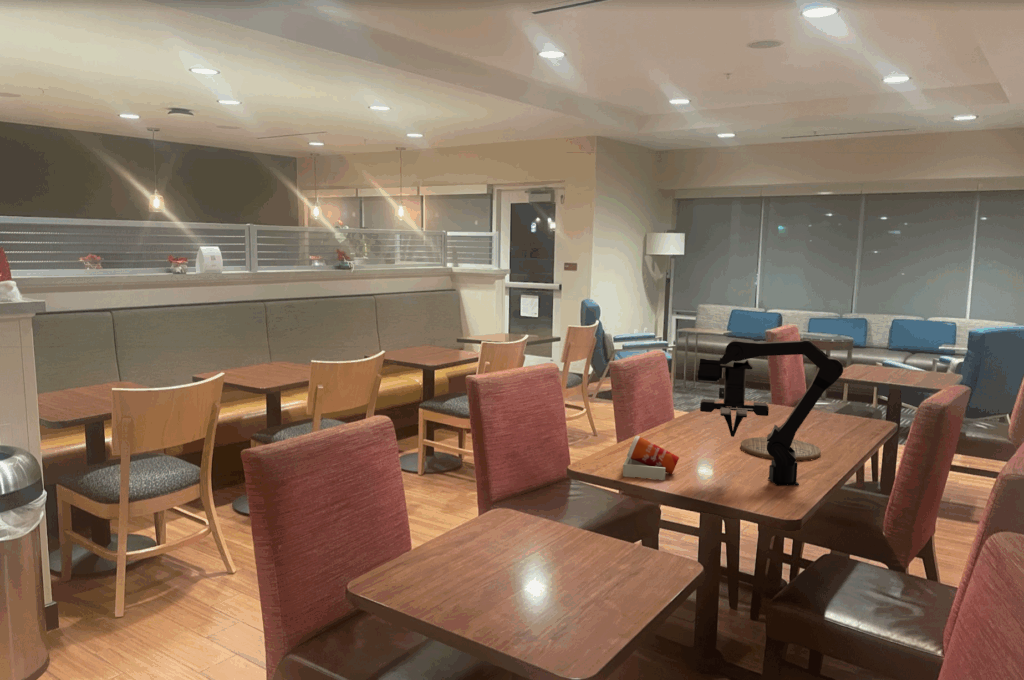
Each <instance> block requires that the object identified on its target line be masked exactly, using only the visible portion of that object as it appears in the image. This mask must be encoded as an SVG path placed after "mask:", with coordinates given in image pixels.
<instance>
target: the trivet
mask: <svg viewBox="0 0 1024 680" xmlns="http://www.w3.org/2000/svg"><path fill="white" fill-rule="evenodd" d="M790 447H791V448H792V449H793V450H794V451H795V452H796V462H803V461H802V460H808V461H812V460H811V459H814V460H817V459H818V457H819V458H820V457H821V451H822V450H821V448H820V447H819V446H817V445H815V444H814V443H813V444H812V443H810V442H807V441H803V440H798V439H793V441H792V444H791V446H790ZM740 449H742V450H741V451H742V452H744V451H745V452H744V453H746V452H747V453H746V454H748V453H749V454H748V455H751V456H754V457H757V456H758V458H761V457H763V458H762V459H766V458H769V459H768V460H773V459H774V458H773V457H772V456H771V455H770V454H769V453H768V451H767V436H756V437H749V438H745V439H743V440H741V442H740ZM816 458H817V459H816ZM800 460H801V461H800Z"/></svg>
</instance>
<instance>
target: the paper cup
mask: <svg viewBox="0 0 1024 680" xmlns="http://www.w3.org/2000/svg"><path fill="white" fill-rule="evenodd" d="M628 449H629V450H628V452H627V455H626V458H627V457H629V458H630V459H633V460H635V461H638V462H640V463H643V464H645V465H648V466H654V467H665V474H669V475H673V473H674V471H675V468H676V466H677V464H678V461H679V459H680V457H679V456H678V455H676V454H674V453H672V452H671V451H668V450H666V448H663V447H660V446H659V445H658V444H655V443H653V442H651V441H649V440H647V439H645V438H644V437H641V435H635V437H634V438H633V441H632V442H631V445H630V447H629V448H628Z"/></svg>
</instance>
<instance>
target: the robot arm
mask: <svg viewBox="0 0 1024 680" xmlns="http://www.w3.org/2000/svg"><path fill="white" fill-rule="evenodd" d="M792 355H793V356H794V355H795V356H796V355H797V356H798V355H799V356H800V355H804V356H805V357H806V358H807V359H808V360H809V361H810V362H811V363H813V365H815V366H816V367H817V369H816V371H815V373H814V376H813V379H812V382H811V383H810V384H809V386H808V388H807V389H806V391H805V392H804V393H803V395H802V397H800V399H799V401H798V402H797V404H796V405H795V407H794V408H793V410H792V411H791V412H790V414H789V415H788V417H787V418H786V420H785V421H784V422H783V423H782V424H781V425H780V426H778V425H776V424H774V426H773V427H772V430H771V431H770V433H768V434H767V436H766V437H767V451H768V453H769V454H770V455H771V456H772V457H773V458H774V460H773V459H770V460H771V461H770V464H769V468H768V471H769V472H768V477H767V479H768V481H770V482H772V483H773V484H775V486H779V487H780V486H781V487H783V486H799V485H800V482H798V481H797V480H798V478H797V476H798V475H797V474H798V461H796V452H795V451H794V450H793V449H792V448H791V447H790V446H791V444H792V441H793V439H794V438H795V436H796V433H797V432H798V430H799V428H800V427H801V426H802V424H803V423H804V421H805V419H806V418H807V417H808V415H809V414H810V412H811V411H812V409H813V408H814V407H815V405H816V404H817V402H819V399H820V398H821V397H822V395H823V394H824V392H826V390H828V389H829V388H830V387H831V386H832V385H834V384H835V383H836V381H837V380H839V378H841V376H842V375H843V373H844V368H843V367H844V366H843V364H842V362H841V361H840V360H839V358H837V357H835V356H829V355H828V354H827V353H826V352H824V351H823V350H821V348H819V347H818V346H817V345H816V344H814V343H813V341H812V340H809V339H802V340H785V341H781V340H780V341H761V342H759V341H752V340H747V339H746V340H745V339H739V338H738V339H733V340H731V341H729V343H727V345H726V347H725V353H724V354H723V355H721V356H720V358H718V359H717V358H716V359H714V358H706V357H701V358H699V365H698V369H697V380H698V382H707V383H719V381H720V380H723V378H724V387H719V389H718V399H719V400H723V402H715V399H708V398H707V399H706V398H703V399H701V400H700V404H699V405H700V406H699V407H700V408H699V411H700V412H701V413H702V412H703V413H712V412H714V411H715V410H719V411H720V412H719V414H720V416H721V417H724V419H725V422H726V424H727V427H728V431H729V434H730V436H731V437H733V438H734V437H735V435H736V433H737V430H738V429H739V426H740V425H741V422H742V420H743V419H744V418H748V412H751V413H752V412H753V413H754V414H755V415H756V416H760V417H768V416H769V404H767V403H766V402H757V401H756V402H755V401H754V402H753V404H752V405H751V404H745V398H746V377H747V376H746V375H747V370H752V369H753V368H754V365H753V364H752V363H750V361H749V360H750V359H754V358H757V357H769V356H774V357H775V356H792ZM741 361H744V362H741ZM731 362H733V364H729V363H731ZM724 369H725V370H724ZM732 411H735V415H734V417H735V418H734V423H733V421H732V420H733V419H732ZM794 440H795V439H794Z"/></svg>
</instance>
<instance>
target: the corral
mask: <svg viewBox="0 0 1024 680" xmlns="http://www.w3.org/2000/svg"><path fill="white" fill-rule="evenodd" d="M622 477H626V478H635V477H641V478H640V479H646V478H651V479H650V480H656V479H659V481H666V472H665V467H654V466H648V465H645V464H643V463H640V462H638V461H635V460H633V459H630V458H629V457H627V456H626V458H625V460H624V462H623V463H622Z"/></svg>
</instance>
